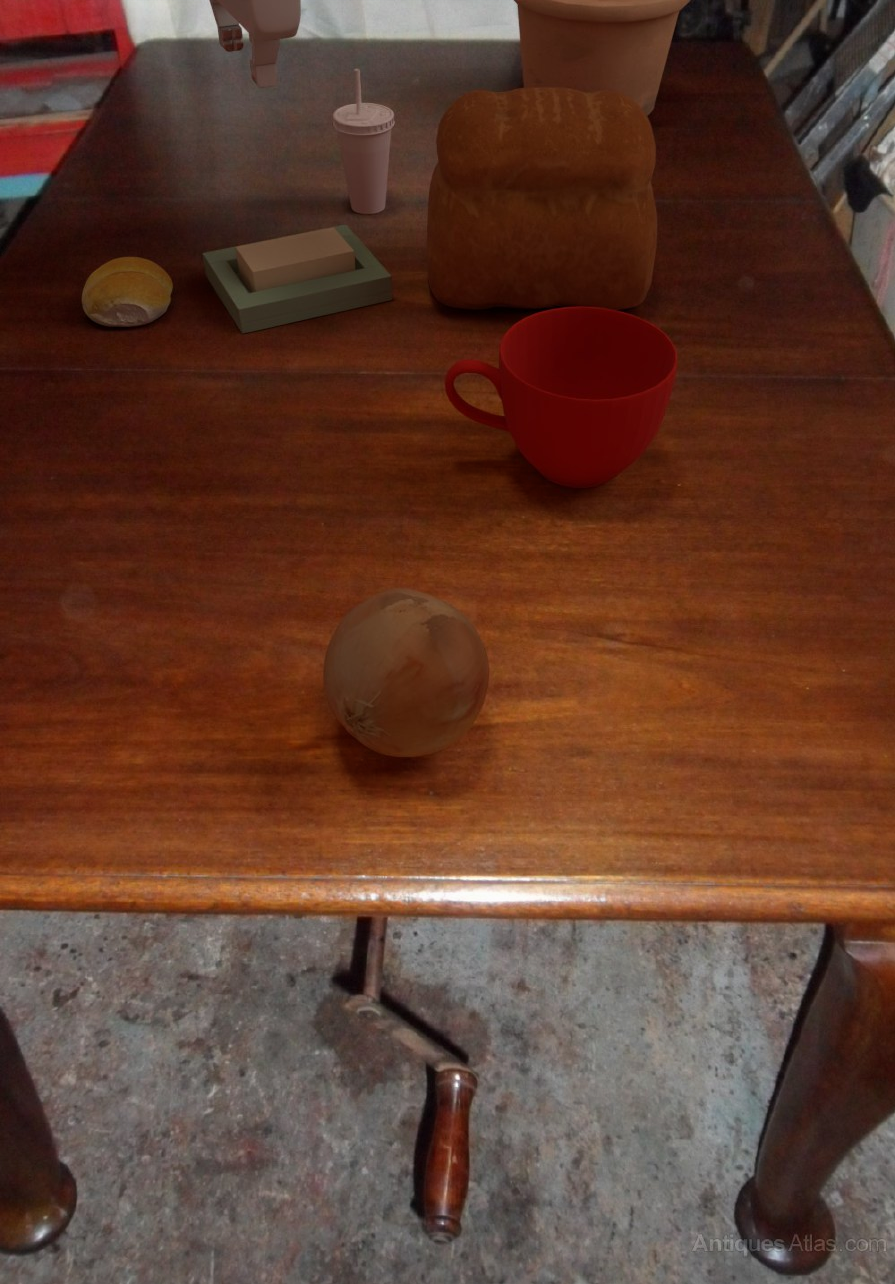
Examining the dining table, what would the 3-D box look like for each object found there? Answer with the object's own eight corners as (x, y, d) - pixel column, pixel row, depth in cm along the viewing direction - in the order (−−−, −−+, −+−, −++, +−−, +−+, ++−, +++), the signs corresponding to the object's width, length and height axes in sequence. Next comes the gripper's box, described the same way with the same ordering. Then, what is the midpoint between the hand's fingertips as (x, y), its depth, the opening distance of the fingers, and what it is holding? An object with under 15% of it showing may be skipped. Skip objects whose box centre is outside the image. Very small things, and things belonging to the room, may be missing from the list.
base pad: (242, 334, 98) (238, 309, 96) (206, 276, 105) (202, 252, 103) (392, 300, 102) (391, 276, 100) (347, 247, 110) (346, 223, 108)
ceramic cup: (447, 413, 89) (447, 303, 82) (650, 417, 89) (668, 307, 81) (442, 512, 80) (441, 398, 73) (667, 516, 80) (689, 402, 72)
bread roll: (176, 280, 105) (168, 241, 102) (170, 327, 99) (162, 287, 96) (90, 285, 104) (80, 246, 101) (79, 332, 98) (68, 292, 95)
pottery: (560, 63, 147) (568, -57, 137) (704, 97, 139) (724, -29, 128) (470, 111, 135) (472, -17, 125) (622, 152, 126) (637, 17, 116)
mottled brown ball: (301, 764, 64) (283, 649, 56) (368, 651, 70) (360, 535, 63) (453, 812, 61) (453, 698, 54) (508, 690, 68) (515, 575, 60)
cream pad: (257, 302, 100) (252, 272, 98) (239, 276, 103) (235, 246, 101) (356, 280, 103) (354, 250, 101) (336, 256, 106) (333, 226, 104)
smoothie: (326, 207, 116) (315, 68, 106) (369, 189, 119) (361, 52, 109) (367, 225, 113) (360, 84, 103) (409, 206, 116) (406, 67, 106)
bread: (428, 238, 111) (426, 63, 99) (633, 238, 111) (656, 63, 99) (426, 324, 99) (423, 136, 87) (656, 324, 99) (685, 137, 87)
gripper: (152, -155, 86) (180, 33, 96) (223, -98, 74) (247, 112, 84) (227, -160, 88) (247, 25, 98) (309, -105, 75) (323, 101, 85)
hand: (248, 66), depth 91 cm, fingers open, 8 cm apart
